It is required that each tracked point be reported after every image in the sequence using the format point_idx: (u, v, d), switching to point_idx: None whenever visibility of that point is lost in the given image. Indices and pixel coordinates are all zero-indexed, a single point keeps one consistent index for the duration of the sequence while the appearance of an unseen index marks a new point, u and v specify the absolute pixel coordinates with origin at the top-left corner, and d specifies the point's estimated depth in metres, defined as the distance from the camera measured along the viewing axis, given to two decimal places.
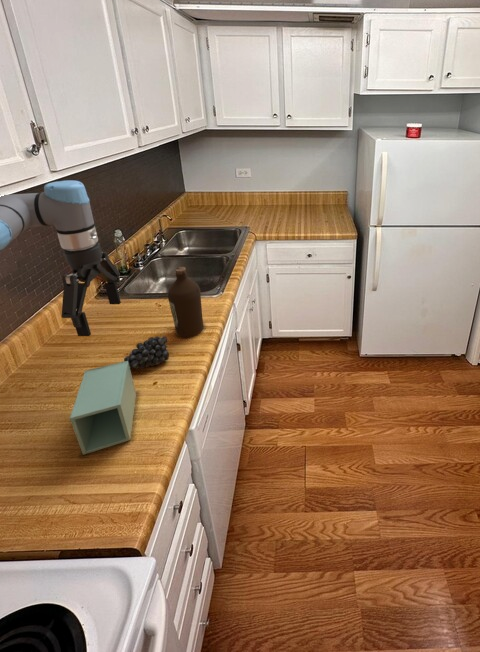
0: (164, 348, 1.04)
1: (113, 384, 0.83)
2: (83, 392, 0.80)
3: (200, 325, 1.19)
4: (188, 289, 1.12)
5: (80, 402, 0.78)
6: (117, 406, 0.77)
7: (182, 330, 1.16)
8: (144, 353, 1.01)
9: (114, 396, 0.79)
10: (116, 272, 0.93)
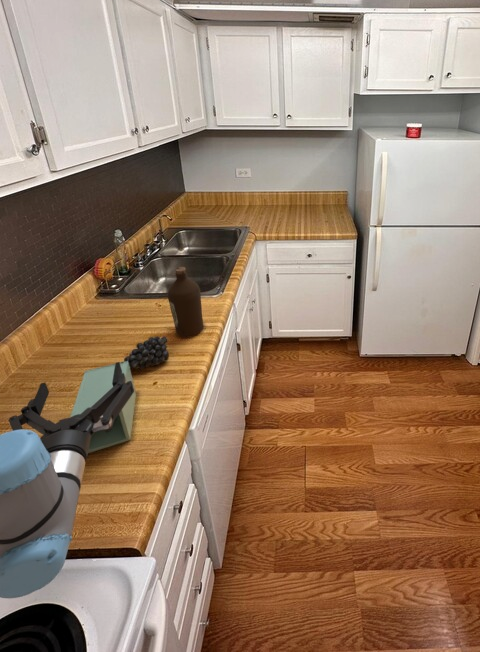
0: (164, 348, 1.04)
1: None
2: (83, 392, 0.80)
3: (200, 325, 1.19)
4: (187, 289, 1.12)
5: (80, 402, 0.78)
6: None
7: (182, 330, 1.16)
8: (144, 353, 1.01)
9: None
10: None
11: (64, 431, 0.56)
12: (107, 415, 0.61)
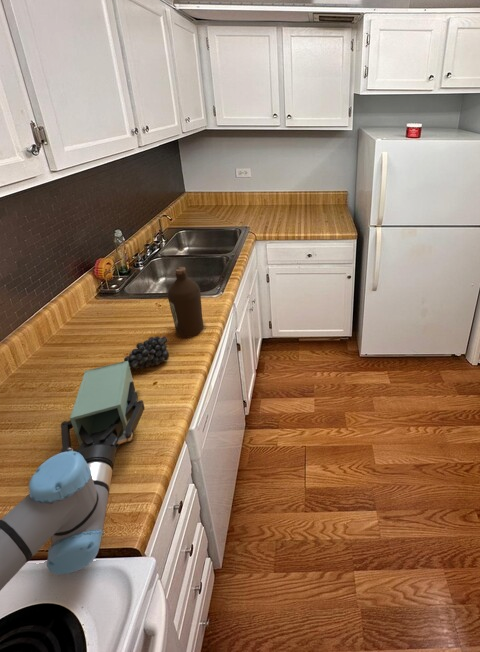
0: (164, 348, 1.04)
1: (113, 384, 0.83)
2: (83, 392, 0.80)
3: (200, 325, 1.19)
4: (187, 289, 1.12)
5: (80, 402, 0.78)
6: (117, 406, 0.77)
7: (182, 330, 1.16)
8: (144, 353, 1.01)
9: (114, 396, 0.79)
10: None
11: (96, 445, 0.71)
12: (128, 430, 0.76)
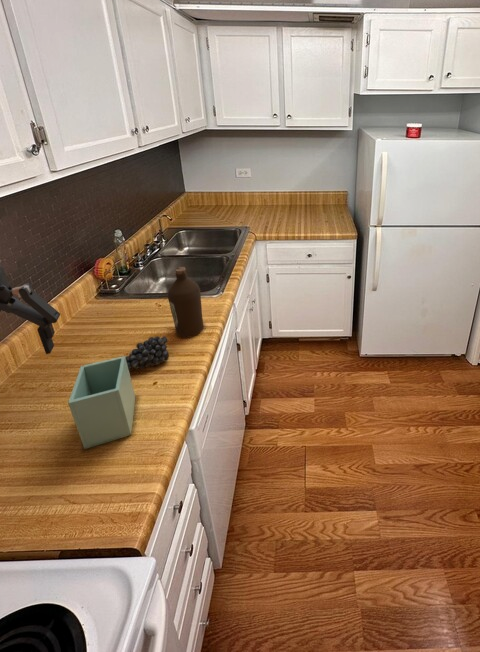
0: (164, 348, 1.04)
1: None
2: None
3: (200, 325, 1.19)
4: (187, 289, 1.12)
5: None
6: (122, 357, 0.87)
7: (182, 330, 1.16)
8: (144, 353, 1.01)
9: None
10: (47, 317, 0.69)
11: None
12: None
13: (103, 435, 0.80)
